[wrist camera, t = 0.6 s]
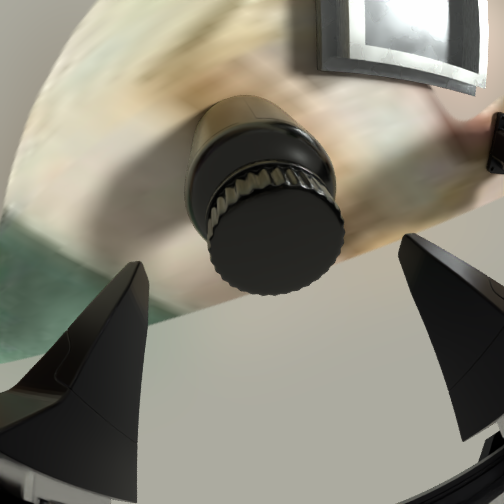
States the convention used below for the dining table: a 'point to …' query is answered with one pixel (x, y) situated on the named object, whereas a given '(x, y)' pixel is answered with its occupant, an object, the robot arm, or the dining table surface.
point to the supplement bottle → (262, 197)
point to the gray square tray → (406, 40)
